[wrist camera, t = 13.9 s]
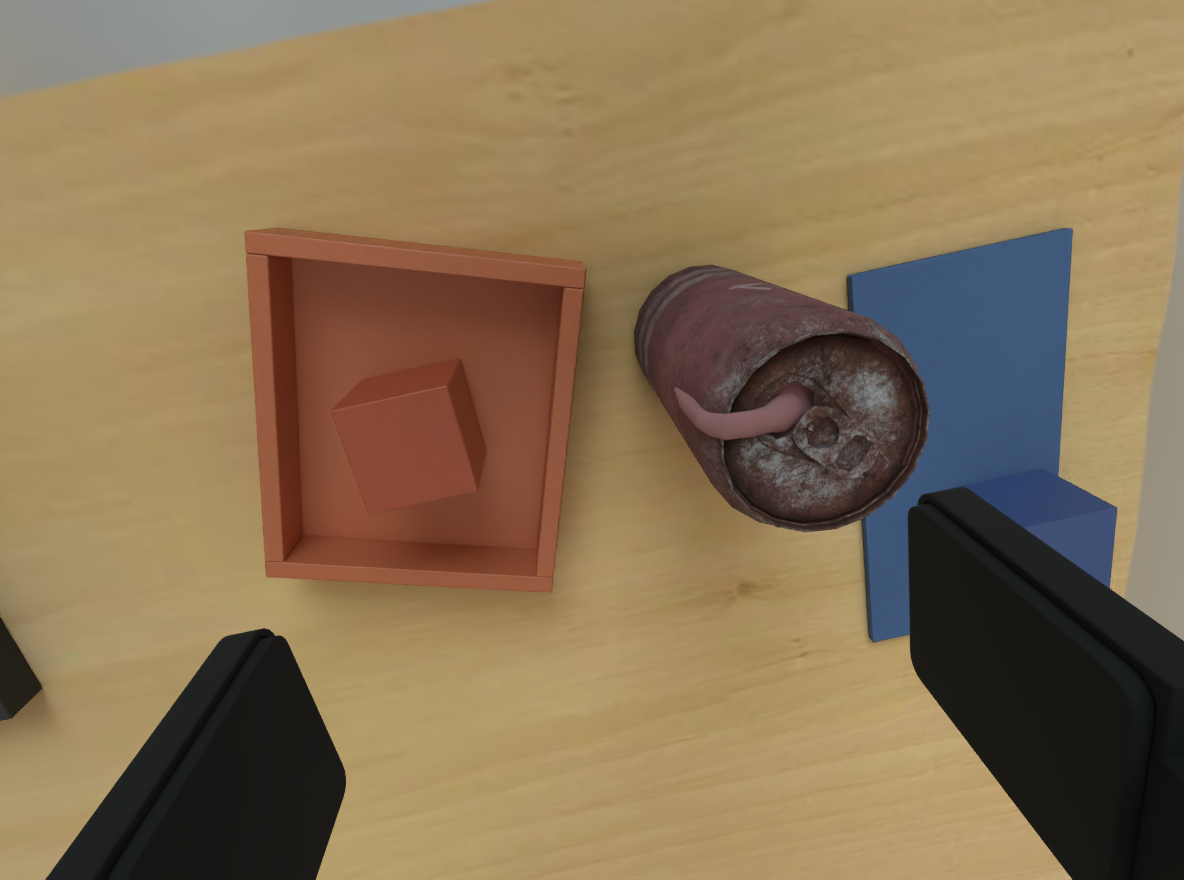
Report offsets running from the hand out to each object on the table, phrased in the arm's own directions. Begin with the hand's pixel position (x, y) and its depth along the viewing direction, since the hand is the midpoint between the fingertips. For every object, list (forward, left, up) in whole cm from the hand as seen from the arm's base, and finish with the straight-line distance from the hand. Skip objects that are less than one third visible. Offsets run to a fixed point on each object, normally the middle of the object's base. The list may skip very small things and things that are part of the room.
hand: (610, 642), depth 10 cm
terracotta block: (+4, -6, -20) cm, 21 cm away
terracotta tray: (+4, -6, -21) cm, 22 cm away
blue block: (+7, +23, -20) cm, 32 cm away
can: (-1, +6, -21) cm, 22 cm away
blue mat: (+4, +20, -21) cm, 29 cm away
